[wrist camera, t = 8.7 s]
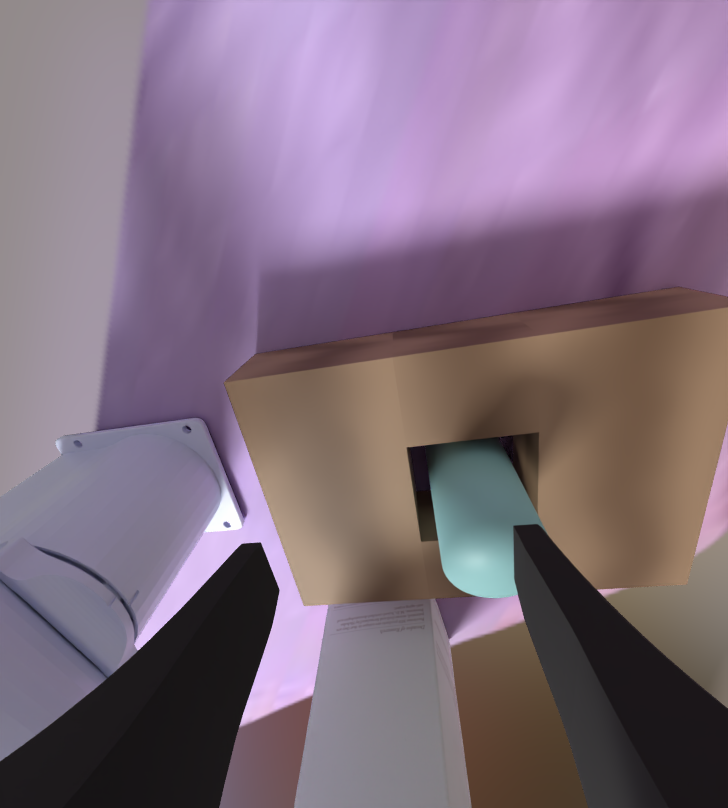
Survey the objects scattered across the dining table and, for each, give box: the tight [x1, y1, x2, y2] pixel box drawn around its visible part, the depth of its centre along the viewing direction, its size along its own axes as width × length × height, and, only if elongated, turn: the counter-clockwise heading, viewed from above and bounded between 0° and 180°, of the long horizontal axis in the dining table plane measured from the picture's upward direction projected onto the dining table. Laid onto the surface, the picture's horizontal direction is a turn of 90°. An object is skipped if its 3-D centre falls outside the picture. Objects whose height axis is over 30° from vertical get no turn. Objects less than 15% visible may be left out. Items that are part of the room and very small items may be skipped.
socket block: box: [224, 287, 728, 606], centre depth 19 cm, size 20×14×4 cm
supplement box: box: [294, 599, 471, 808], centre depth 22 cm, size 7×7×13 cm
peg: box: [425, 437, 547, 598], centre depth 17 cm, size 4×4×8 cm
